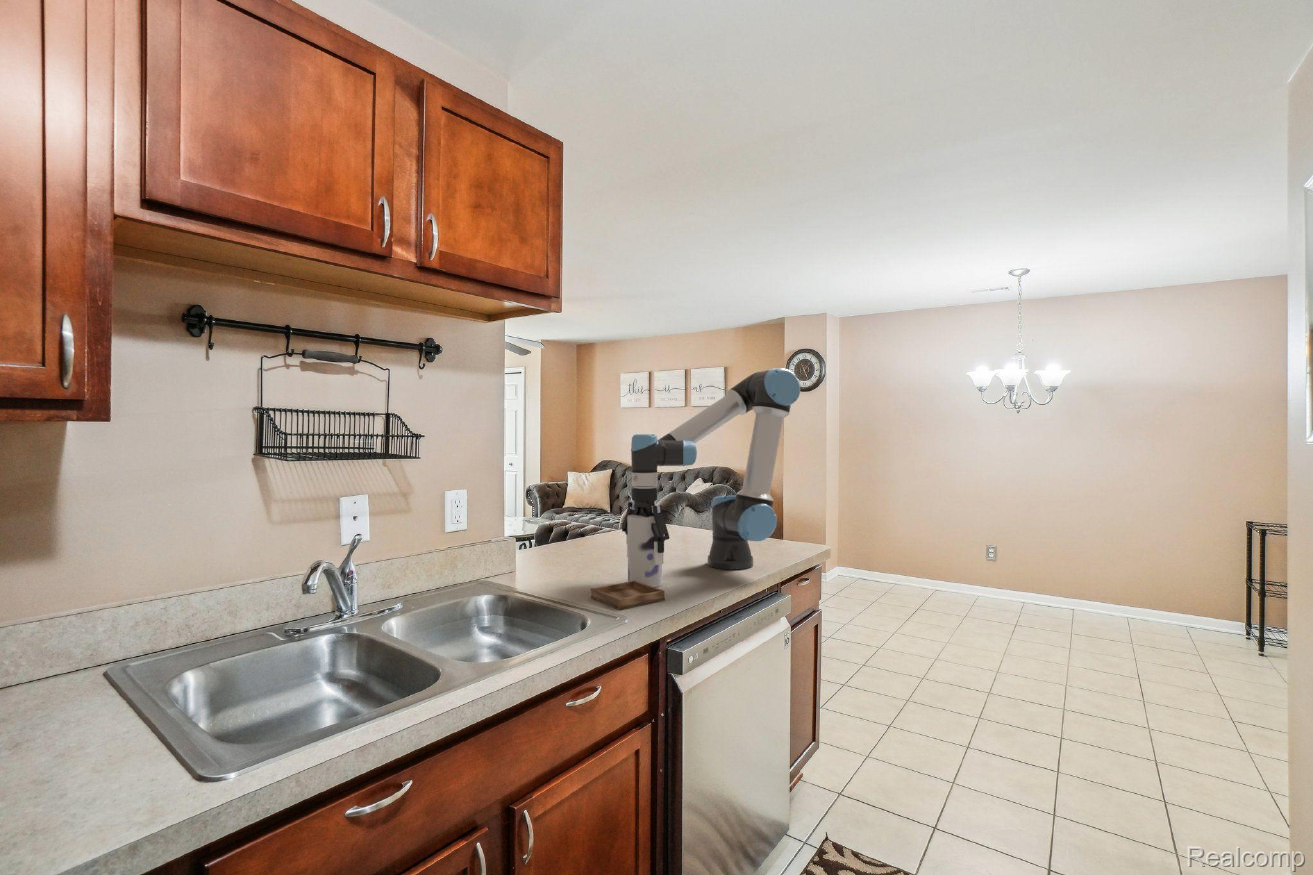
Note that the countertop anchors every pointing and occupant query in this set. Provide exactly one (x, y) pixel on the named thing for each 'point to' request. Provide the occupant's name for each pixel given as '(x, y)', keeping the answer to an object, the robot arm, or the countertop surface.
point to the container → (642, 552)
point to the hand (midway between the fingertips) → (644, 560)
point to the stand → (627, 594)
